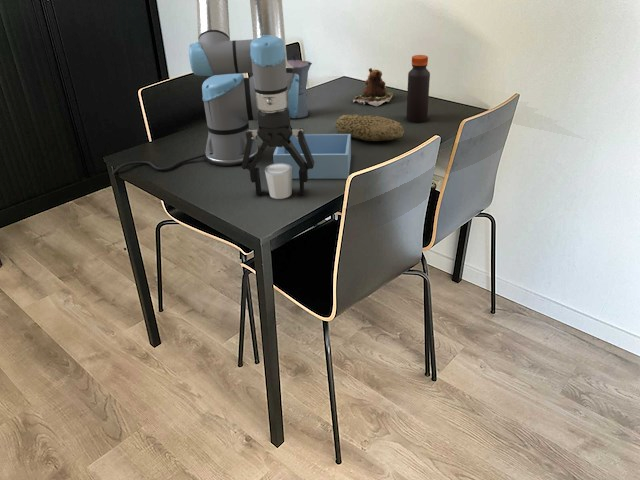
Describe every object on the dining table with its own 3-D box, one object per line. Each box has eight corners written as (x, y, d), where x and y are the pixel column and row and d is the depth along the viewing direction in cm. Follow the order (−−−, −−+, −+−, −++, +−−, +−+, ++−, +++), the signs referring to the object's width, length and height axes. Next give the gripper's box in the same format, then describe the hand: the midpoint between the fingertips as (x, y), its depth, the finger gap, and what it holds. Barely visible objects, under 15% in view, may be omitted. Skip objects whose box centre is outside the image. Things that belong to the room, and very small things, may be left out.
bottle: (421, 114, 185) (424, 53, 174) (431, 120, 179) (435, 57, 169) (402, 117, 183) (405, 55, 172) (412, 124, 178) (415, 60, 167)
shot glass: (262, 198, 139) (259, 172, 135) (274, 186, 144) (271, 161, 140) (287, 201, 136) (285, 175, 133) (298, 189, 142) (296, 164, 138)
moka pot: (321, 113, 190) (318, 54, 179) (282, 124, 183) (277, 62, 172) (306, 106, 196) (302, 49, 186) (268, 116, 189) (262, 57, 179)
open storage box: (275, 178, 148) (273, 155, 144) (283, 156, 160) (281, 134, 157) (348, 178, 146) (348, 154, 142) (351, 156, 158) (350, 133, 155)
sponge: (332, 141, 172) (380, 144, 157) (331, 115, 169) (379, 116, 155) (362, 136, 180) (409, 139, 165) (361, 112, 178) (409, 112, 163)
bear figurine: (401, 96, 201) (402, 62, 195) (378, 108, 192) (379, 73, 185) (370, 91, 209) (370, 58, 202) (346, 102, 199) (346, 67, 192)
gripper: (220, 114, 126) (233, 199, 138) (320, 113, 124) (324, 200, 136) (228, 103, 133) (239, 186, 144) (323, 102, 130) (327, 186, 142)
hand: (280, 193), depth 140 cm, fingers open, 10 cm apart
